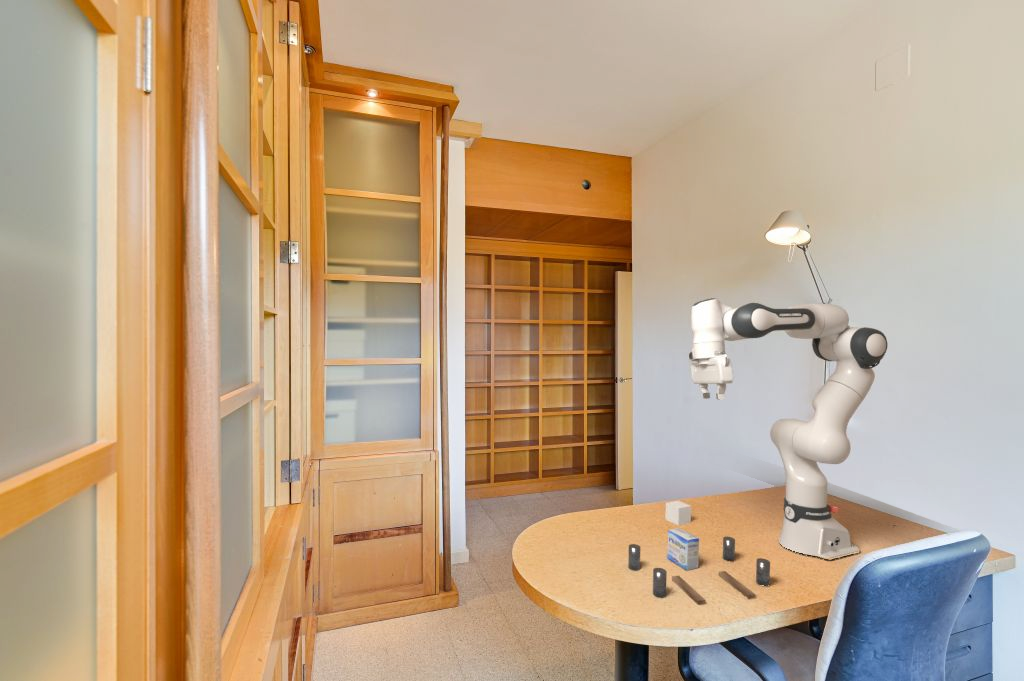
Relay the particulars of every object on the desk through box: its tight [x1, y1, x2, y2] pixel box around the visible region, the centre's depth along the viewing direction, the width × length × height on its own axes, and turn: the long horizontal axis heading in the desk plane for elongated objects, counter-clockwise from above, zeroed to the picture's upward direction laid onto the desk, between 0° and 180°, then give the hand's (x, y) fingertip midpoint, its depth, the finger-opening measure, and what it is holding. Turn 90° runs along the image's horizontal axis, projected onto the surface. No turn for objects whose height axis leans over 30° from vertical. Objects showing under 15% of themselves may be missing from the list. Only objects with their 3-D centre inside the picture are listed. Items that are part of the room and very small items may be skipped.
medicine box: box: [666, 527, 700, 572], centre depth 139 cm, size 8×4×9 cm, turn 25°
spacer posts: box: [627, 536, 771, 599], centre depth 132 cm, size 33×17×6 cm, turn 102°
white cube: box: [664, 500, 692, 526], centre depth 171 cm, size 6×6×6 cm
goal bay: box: [671, 570, 757, 606], centre depth 125 cm, size 16×12×1 cm
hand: (713, 399), depth 144 cm, fingers open, 8 cm apart
